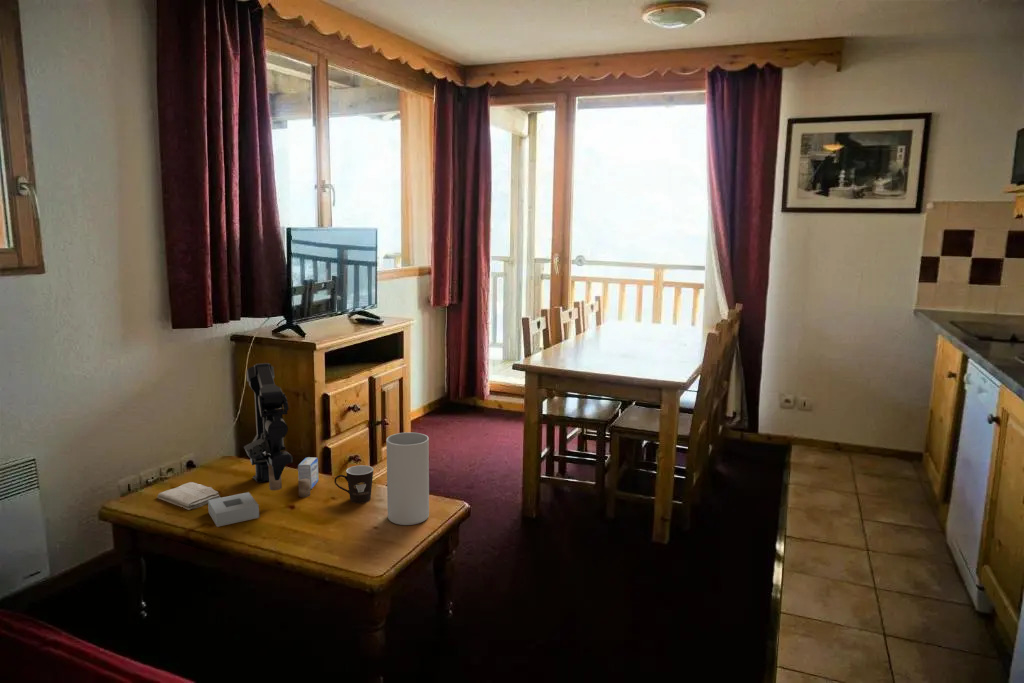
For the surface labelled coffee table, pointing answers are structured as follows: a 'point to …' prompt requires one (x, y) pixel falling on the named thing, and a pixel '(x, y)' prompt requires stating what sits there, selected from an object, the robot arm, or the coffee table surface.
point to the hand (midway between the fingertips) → (275, 478)
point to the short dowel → (304, 487)
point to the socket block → (233, 509)
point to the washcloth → (189, 495)
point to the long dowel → (273, 480)
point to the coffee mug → (358, 483)
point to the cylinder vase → (407, 478)
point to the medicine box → (309, 470)
